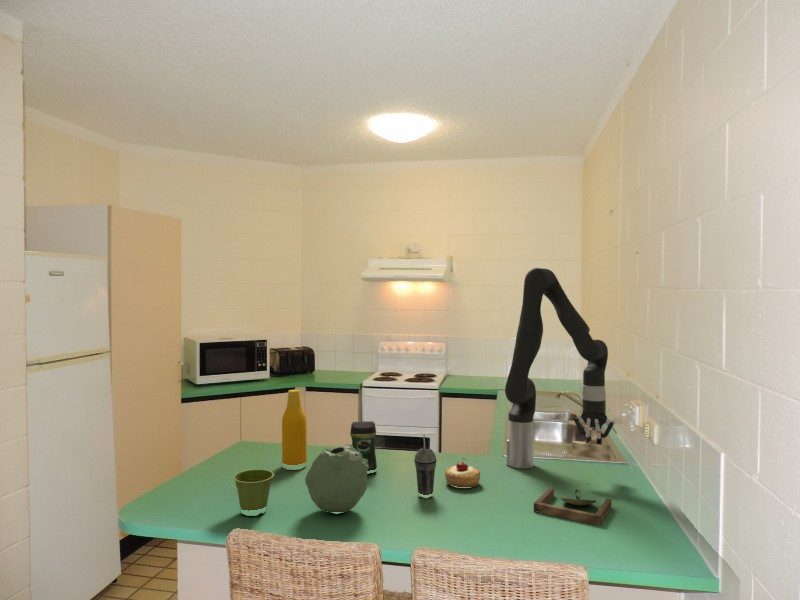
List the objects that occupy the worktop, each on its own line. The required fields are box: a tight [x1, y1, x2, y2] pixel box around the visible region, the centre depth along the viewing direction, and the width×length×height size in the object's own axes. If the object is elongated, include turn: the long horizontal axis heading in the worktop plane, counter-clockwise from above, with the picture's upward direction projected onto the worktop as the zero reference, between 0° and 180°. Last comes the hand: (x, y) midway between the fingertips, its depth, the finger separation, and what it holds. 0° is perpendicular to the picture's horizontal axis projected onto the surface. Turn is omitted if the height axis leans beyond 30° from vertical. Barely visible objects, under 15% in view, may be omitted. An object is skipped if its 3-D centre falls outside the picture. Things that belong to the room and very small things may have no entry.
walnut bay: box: [533, 487, 612, 527], centre depth 164 cm, size 19×16×2 cm
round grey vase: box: [304, 443, 369, 513], centre depth 162 cm, size 16×19×20 cm
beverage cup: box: [413, 434, 437, 495], centre depth 175 cm, size 7×7×20 cm
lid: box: [559, 489, 598, 507], centre depth 166 cm, size 11×10×5 cm
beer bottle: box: [281, 389, 308, 465], centre depth 205 cm, size 9×9×29 cm
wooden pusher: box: [571, 434, 612, 461], centre depth 187 cm, size 12×12×4 cm
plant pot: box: [232, 468, 275, 511], centre depth 162 cm, size 12×12×11 cm
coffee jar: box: [349, 420, 378, 471], centre depth 199 cm, size 10×8×19 cm
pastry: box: [444, 457, 481, 488], centre depth 186 cm, size 12×12×9 cm
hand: (594, 448), depth 186 cm, fingers closed on wooden pusher, 2 cm apart
